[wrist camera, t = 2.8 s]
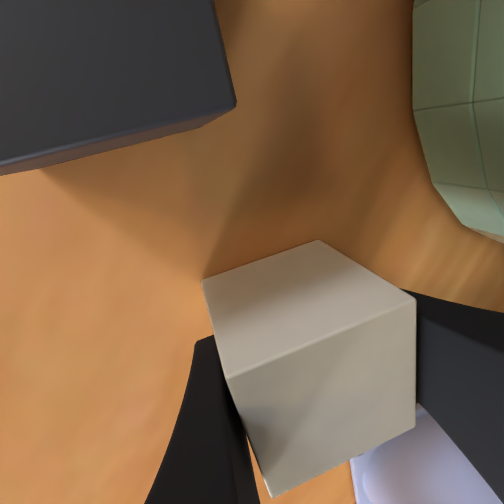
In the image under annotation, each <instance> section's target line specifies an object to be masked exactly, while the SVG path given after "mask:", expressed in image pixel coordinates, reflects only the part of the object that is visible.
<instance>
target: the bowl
mask: <svg viewBox="0 0 504 504" xmlns="http://www.w3.org/2000/svg"><path fill="white" fill-rule="evenodd" d="M413 7H414V9H413V12H412V109H413V110H415V111H414V112H413V115H414V119H415V123H416V126H417V130H418V134H419V138H420V141H421V145H422V149H423V152H424V156H425V160H426V163H427V167H428V171H429V175H430V178H431V181H432V184H433V185H434V187H435V188H436V190H437V191H438V192H439V194H440V195H441V196H442V198H443V199H444V200H445V202H446V203H447V205H448V206H449V207H450V209H451V210H452V211H453V213H454V214H455V215H456V217H457V218H458V220H459V221H460V222H461V224H463V225H464V226H466V227H468V228H470V229H472V230H474V231H477V232H479V233H481V234H483V235H485V236H487V237H489V238H491V239H493V240H495V241H497V242H499V243H502V244H504V0H414V4H413Z"/></svg>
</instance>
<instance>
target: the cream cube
mask: <svg viewBox="0 0 504 504" xmlns="http://www.w3.org/2000/svg"><path fill="white" fill-rule="evenodd" d="M201 286H202V290H203V294H204V298H205V302H206V306H207V310H208V313H209V317H210V321H211V325H212V329H213V333H214V337H215V341H216V345H217V349H218V353H219V357H220V360H221V364H222V368H223V372H224V376H225V380H226V382H227V385H228V387H229V390H230V393H231V395H232V398H233V400H234V403H235V406H236V408H237V411H238V414H239V416H240V419H241V421H242V424H243V427H244V429H245V432H246V435H247V437H248V440H249V442H250V445H251V448H252V450H253V453H254V455H255V458H256V461H257V463H258V466H259V469H260V471H261V474H262V476H263V479H264V482H265V484H266V487H267V489H268V492H269V495H270V497H271V498H275V497H277V496H279V495H281V494H283V493H285V492H287V491H289V490H291V489H293V488H295V487H297V486H299V485H301V484H303V483H305V482H307V481H309V480H311V479H313V478H315V477H317V476H319V475H321V474H323V473H325V472H327V471H329V470H331V469H333V468H335V467H337V466H339V465H341V464H342V463H344V462H346V461H348V460H350V459H352V458H354V457H356V456H358V455H360V454H362V453H364V452H366V451H368V450H370V449H372V448H374V447H376V446H378V445H380V444H382V443H384V442H386V441H388V440H390V439H392V438H394V437H396V436H398V435H400V434H402V433H404V432H406V431H408V430H410V429H412V428H414V427H415V426H416V309H417V301H416V299H415V298H414V297H412V296H411V295H409V294H407V293H406V292H404V291H402V290H401V289H399V288H398V287H396V286H394V285H393V284H391V283H389V282H388V281H386V280H384V279H383V278H381V277H380V276H378V275H376V274H375V273H373V272H371V271H370V270H368V269H366V268H365V267H363V266H362V265H360V264H358V263H357V262H355V261H353V260H352V259H350V258H348V257H347V256H345V255H344V254H342V253H340V252H339V251H337V250H335V249H334V248H332V247H331V246H329V245H327V244H326V243H324V242H322V241H321V240H315V241H312V242H309V243H306V244H303V245H300V246H298V247H295V248H292V249H289V250H286V251H283V252H280V253H277V254H275V255H272V256H269V257H266V258H263V259H260V260H257V261H254V262H252V263H249V264H246V265H243V266H240V267H237V268H234V269H231V270H229V271H226V272H223V273H220V274H217V275H214V276H211V277H208V278H205V279H203V280H201Z"/></svg>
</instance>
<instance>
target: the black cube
mask: <svg viewBox="0 0 504 504" xmlns="http://www.w3.org/2000/svg"><path fill="white" fill-rule="evenodd" d="M236 103H237V100H236V96H235V91H234V87H233V82H232V78H231V74H230V69H229V65H228V61H227V56H226V52H225V48H224V43H223V39H222V34H221V30H220V26H219V21H218V17H217V13H216V8H215V4H214V0H0V176H1V175H7V174H12V173H18V172H23V171H29V170H34V169H39V168H43V167H46V166H50V165H54V164H58V163H62V162H66V161H70V160H74V159H78V158H82V157H86V156H90V155H94V154H98V153H101V152H105V151H109V150H113V149H117V148H121V147H125V146H129V145H133V144H137V143H141V142H145V141H149V140H153V139H157V138H160V137H164V136H168V135H172V134H176V133H180V132H184V131H188V130H192V129H196V128H200V127H201V126H203V125H205V124H207V123H209V122H211V121H213V120H214V119H216V118H218V117H220V116H222V115H224V114H226V113H227V112H229V111H231V110H233V109H234V108H235V107H236Z"/></svg>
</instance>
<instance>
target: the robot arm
mask: <svg viewBox="0 0 504 504" xmlns="http://www.w3.org/2000/svg"><path fill="white" fill-rule="evenodd" d="M399 289H401V288H399ZM401 290H402V291H404V292H406V293H407V294H409V295H411V296H412V297H414V298H415V299H416V301H417V309H416V401H417V402H418V403H417V404H416V426H415V427H414V428H412V429H410V430H408V431H406V432H404V433H402V434H400V435H398V436H396V437H394V438H392V439H390V440H388V441H386V442H384V443H382V444H380V445H378V446H376V447H374V448H372V449H370V450H368V451H366V452H364V453H362V454H360V455H358V456H356V457H354V458H352V459H350V467H351V473H352V480H353V486H354V493H355V499H356V504H504V313H501V312H496V311H490V310H485V309H480V308H475V307H471V306H466V305H462V304H458V303H454V302H449V301H445V300H441V299H437V298H433V297H430V296H426V295H422V294H419V293H415V292H411V291H408V290H404V289H401ZM144 504H260V500H259V496H258V492H257V487H256V482H255V477H254V472H253V467H252V462H251V457H250V452H249V447H248V441H247V436H246V432H245V429H244V427H243V424H242V421H241V419H240V416H239V414H238V411H237V408H236V406H235V403H234V400H233V398H232V395H231V393H230V390H229V387H228V385H227V382H226V380H225V376H224V372H223V368H222V364H221V360H220V357H219V353H218V349H217V345H216V341H215V337H214V335H211V336H209V337H206V338H204V339H201V340H198V341H197V342H196V344H195V346H194V354H193V360H192V365H191V370H190V375H189V379H188V383H187V387H186V391H185V394H184V398H183V402H182V405H181V409H180V412H179V415H178V418H177V421H176V424H175V427H174V430H173V433H172V436H171V439H170V442H169V445H168V447H167V450H166V453H165V455H164V458H163V461H162V463H161V466H160V468H159V471H158V473H157V476H156V478H155V481H154V483H153V485H152V488H151V490H150V492H149V494H148V497H147V499H146V501H145V503H144Z"/></svg>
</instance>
